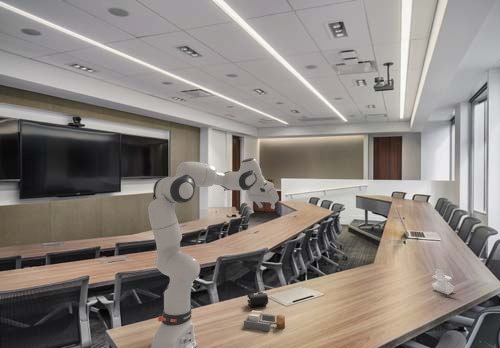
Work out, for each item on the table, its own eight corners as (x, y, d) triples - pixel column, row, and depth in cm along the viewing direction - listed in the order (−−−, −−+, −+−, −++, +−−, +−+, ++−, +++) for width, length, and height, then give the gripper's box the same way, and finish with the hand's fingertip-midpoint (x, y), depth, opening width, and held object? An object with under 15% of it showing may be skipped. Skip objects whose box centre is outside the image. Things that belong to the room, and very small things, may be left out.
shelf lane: (269, 331, 153) (269, 324, 153) (244, 327, 157) (243, 321, 157) (275, 321, 164) (275, 315, 164) (251, 317, 168) (251, 311, 168)
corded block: (283, 330, 154) (283, 319, 154) (248, 325, 159) (248, 315, 159) (286, 325, 159) (286, 314, 159) (252, 320, 165) (252, 310, 165)
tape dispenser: (437, 286, 212) (437, 265, 212) (458, 293, 199) (458, 271, 199) (428, 288, 209) (427, 266, 209) (448, 295, 196) (448, 272, 196)
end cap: (251, 309, 178) (251, 297, 178) (246, 305, 184) (246, 292, 184) (268, 307, 181) (268, 294, 181) (263, 302, 188) (263, 290, 188)
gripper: (241, 188, 182) (250, 209, 187) (268, 189, 167) (277, 212, 172) (249, 182, 186) (257, 203, 191) (275, 183, 171) (284, 205, 176)
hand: (267, 207), depth 181 cm, fingers open, 8 cm apart
